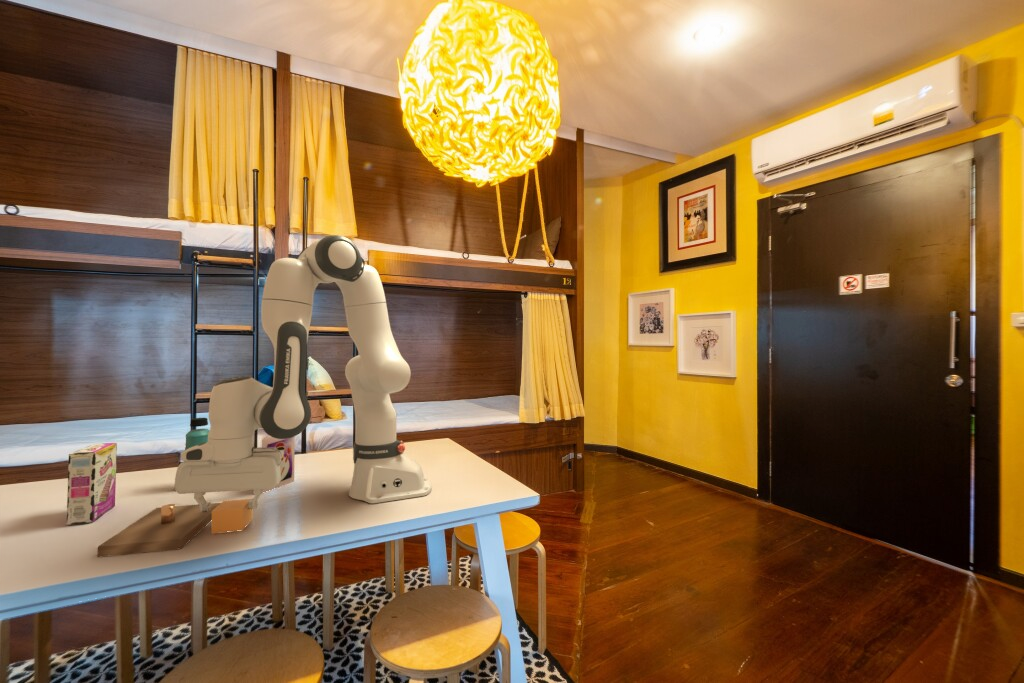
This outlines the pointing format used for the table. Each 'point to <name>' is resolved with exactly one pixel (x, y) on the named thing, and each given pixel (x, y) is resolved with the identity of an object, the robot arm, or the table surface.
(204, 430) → the beverage bottle
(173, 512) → the post
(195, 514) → the base plate
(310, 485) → the table surface
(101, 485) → the candy bar box
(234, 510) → the orange wooden cube
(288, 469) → the greeting card
